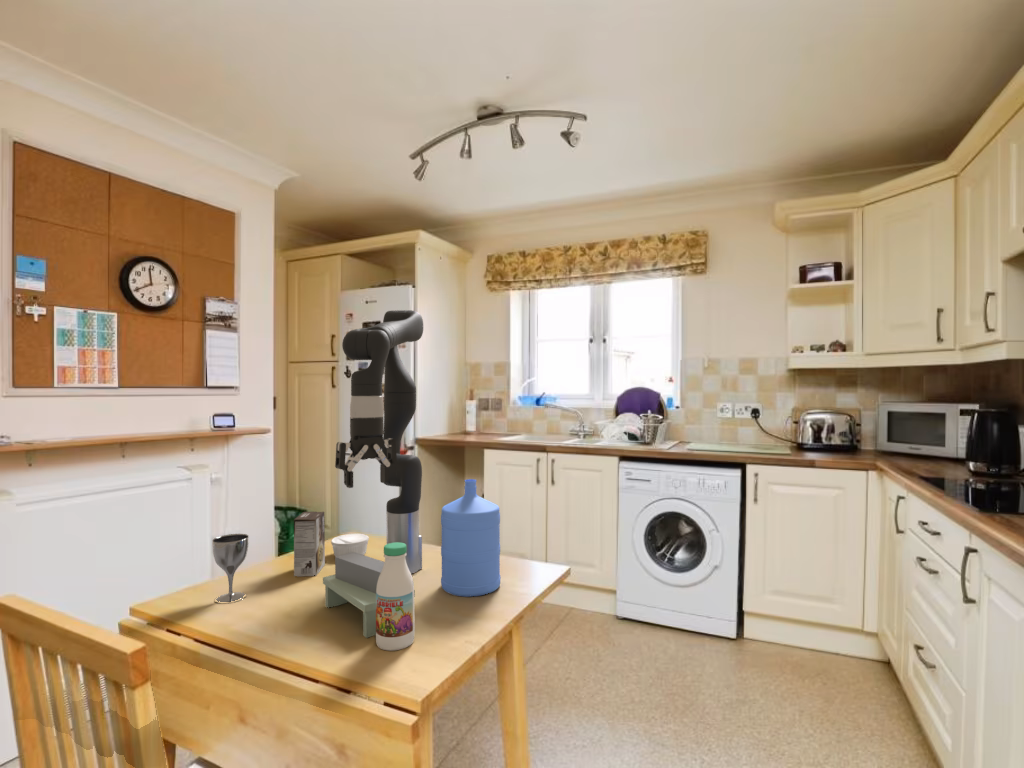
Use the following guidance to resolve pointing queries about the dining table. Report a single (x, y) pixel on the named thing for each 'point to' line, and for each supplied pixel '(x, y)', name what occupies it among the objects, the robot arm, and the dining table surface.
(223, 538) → the wine glass
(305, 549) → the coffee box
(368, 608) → the sage shelf
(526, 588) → the dining table surface
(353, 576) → the grey rectangular brick
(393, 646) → the milk bottle
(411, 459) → the robot arm
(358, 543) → the ramekin
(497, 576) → the water jug
